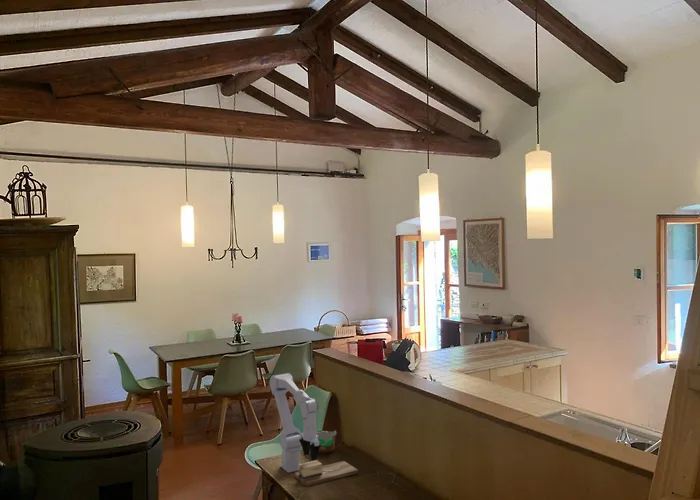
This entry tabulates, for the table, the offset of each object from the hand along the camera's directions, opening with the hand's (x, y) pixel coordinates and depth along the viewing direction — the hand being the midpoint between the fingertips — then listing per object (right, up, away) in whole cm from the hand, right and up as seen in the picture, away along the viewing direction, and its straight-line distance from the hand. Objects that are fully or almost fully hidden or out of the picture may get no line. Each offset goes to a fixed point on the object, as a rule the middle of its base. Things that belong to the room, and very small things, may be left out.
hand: (310, 457), depth 243 cm
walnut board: (+7, -9, +4) cm, 12 cm away
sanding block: (0, -8, 0) cm, 8 cm away
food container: (+5, -10, +34) cm, 36 cm away
